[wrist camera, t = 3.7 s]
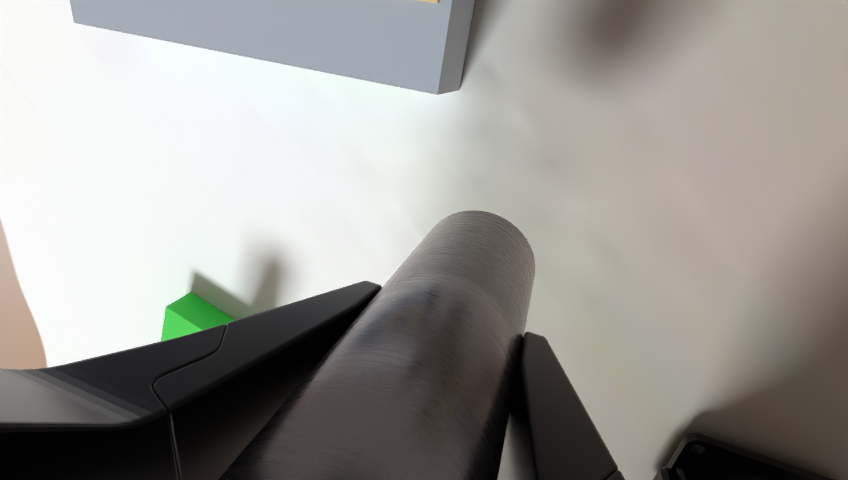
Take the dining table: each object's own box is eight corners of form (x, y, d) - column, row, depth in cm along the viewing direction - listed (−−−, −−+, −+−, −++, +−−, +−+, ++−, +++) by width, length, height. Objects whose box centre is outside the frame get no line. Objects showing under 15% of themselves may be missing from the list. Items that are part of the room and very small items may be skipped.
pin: (549, 228, 11) (445, 961, 2) (518, 328, 12) (376, 1021, 3) (432, 198, 11) (-31, 635, 3) (415, 295, 13) (74, 795, 4)
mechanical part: (193, 290, 26) (53, 373, 19) (272, 340, 26) (158, 444, 18) (172, 405, 32) (58, 502, 25) (236, 448, 31) (138, 560, 24)
